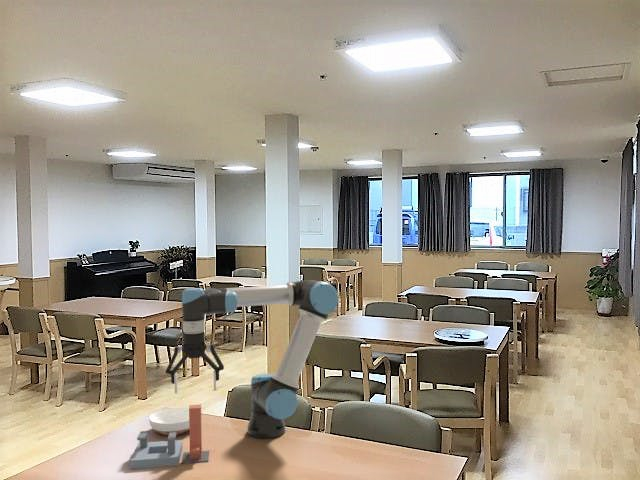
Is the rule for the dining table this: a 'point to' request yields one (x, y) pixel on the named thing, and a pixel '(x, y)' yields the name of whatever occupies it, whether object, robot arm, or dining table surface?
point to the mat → (187, 459)
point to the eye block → (156, 452)
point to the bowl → (170, 421)
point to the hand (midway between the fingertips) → (195, 391)
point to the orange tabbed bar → (195, 431)
